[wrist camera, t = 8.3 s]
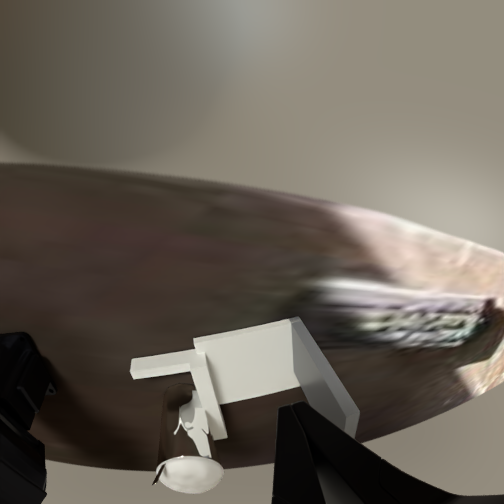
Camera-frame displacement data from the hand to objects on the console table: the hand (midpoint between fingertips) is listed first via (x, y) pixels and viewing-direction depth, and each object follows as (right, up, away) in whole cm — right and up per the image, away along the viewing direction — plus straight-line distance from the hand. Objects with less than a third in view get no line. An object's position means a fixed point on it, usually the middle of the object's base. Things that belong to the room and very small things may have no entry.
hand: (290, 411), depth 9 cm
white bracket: (-4, -6, +15) cm, 17 cm away
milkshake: (-7, -7, +15) cm, 18 cm away
